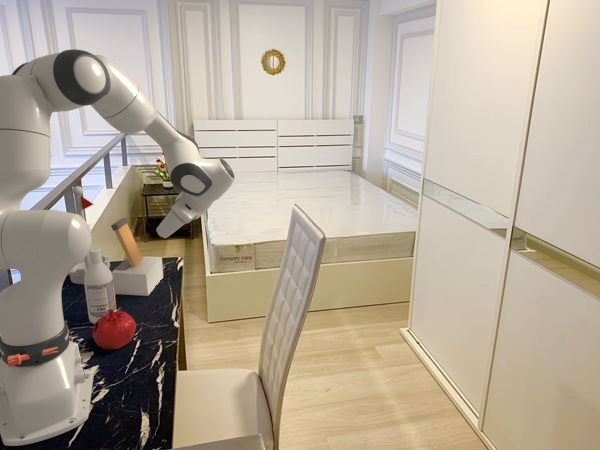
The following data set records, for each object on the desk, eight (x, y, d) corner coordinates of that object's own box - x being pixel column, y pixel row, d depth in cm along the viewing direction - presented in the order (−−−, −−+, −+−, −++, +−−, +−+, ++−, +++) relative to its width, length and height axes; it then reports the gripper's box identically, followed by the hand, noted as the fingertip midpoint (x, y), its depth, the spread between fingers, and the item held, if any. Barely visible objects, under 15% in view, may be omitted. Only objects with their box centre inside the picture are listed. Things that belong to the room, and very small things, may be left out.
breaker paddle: (144, 258, 142) (125, 217, 138) (135, 266, 136) (116, 224, 132) (139, 259, 143) (120, 219, 139) (130, 267, 137) (110, 225, 133)
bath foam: (120, 319, 122) (113, 250, 116) (93, 328, 118) (84, 256, 112) (112, 309, 127) (104, 242, 121) (86, 317, 123) (76, 248, 117)
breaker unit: (163, 277, 148) (161, 255, 145) (148, 295, 135) (145, 272, 133) (131, 275, 148) (129, 254, 146) (113, 293, 136) (111, 270, 134)
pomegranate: (144, 335, 116) (142, 302, 113) (119, 357, 107) (116, 322, 104) (111, 328, 118) (108, 295, 115) (84, 348, 109) (80, 314, 106)
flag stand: (57, 281, 143) (42, 189, 133) (87, 266, 155) (75, 179, 145) (91, 288, 139) (79, 193, 130) (119, 271, 151) (110, 183, 142)
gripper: (193, 187, 142) (164, 215, 145) (172, 206, 122) (139, 238, 126) (208, 201, 143) (179, 229, 147) (189, 222, 124) (156, 253, 127)
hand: (160, 233), depth 136 cm, fingers closed
